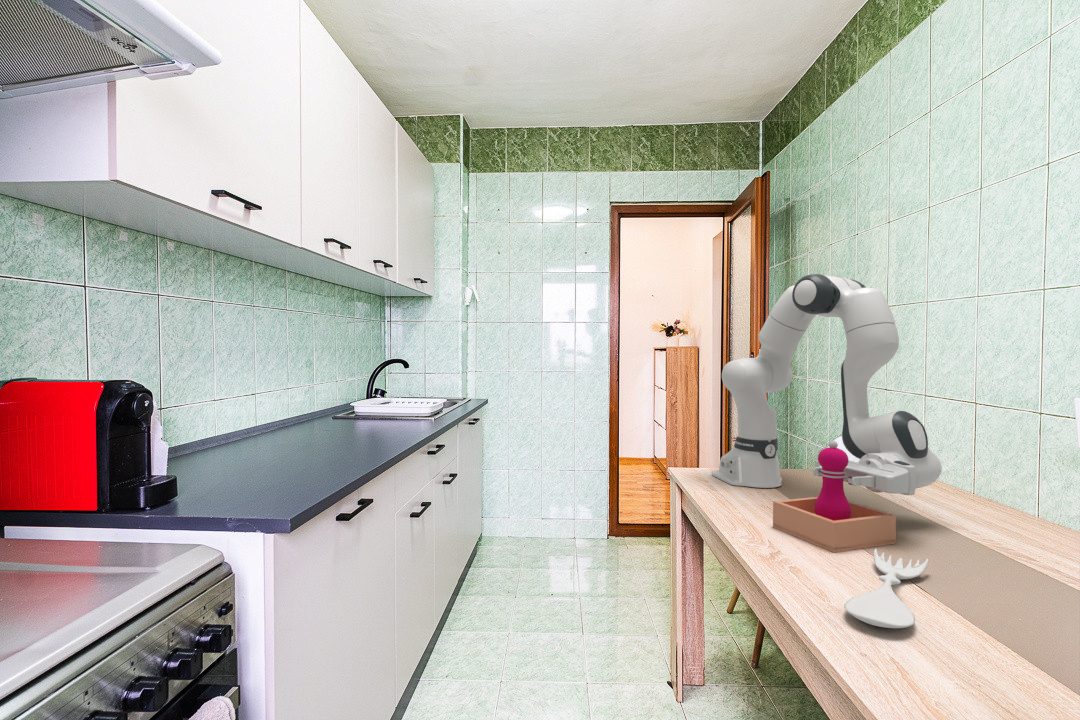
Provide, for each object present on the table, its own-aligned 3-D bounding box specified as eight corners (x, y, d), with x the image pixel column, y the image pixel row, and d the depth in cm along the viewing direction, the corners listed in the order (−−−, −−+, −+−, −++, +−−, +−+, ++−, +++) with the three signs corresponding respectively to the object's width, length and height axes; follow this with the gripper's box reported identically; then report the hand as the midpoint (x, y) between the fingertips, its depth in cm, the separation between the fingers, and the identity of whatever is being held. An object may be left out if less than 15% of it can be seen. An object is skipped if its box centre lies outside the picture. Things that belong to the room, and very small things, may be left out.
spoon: (930, 575, 100) (930, 556, 100) (910, 647, 75) (911, 623, 75) (873, 563, 105) (873, 545, 105) (837, 626, 81) (837, 603, 81)
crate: (772, 527, 126) (773, 501, 126) (829, 520, 132) (829, 495, 132) (833, 552, 110) (834, 523, 110) (895, 543, 116) (896, 515, 115)
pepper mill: (841, 525, 124) (842, 438, 124) (857, 536, 117) (858, 443, 117) (808, 524, 125) (809, 437, 124) (822, 535, 118) (823, 443, 117)
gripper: (841, 451, 135) (796, 454, 131) (922, 467, 116) (873, 471, 111) (840, 476, 135) (796, 480, 131) (921, 496, 116) (873, 502, 111)
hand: (832, 476), depth 121 cm, fingers open, 8 cm apart
